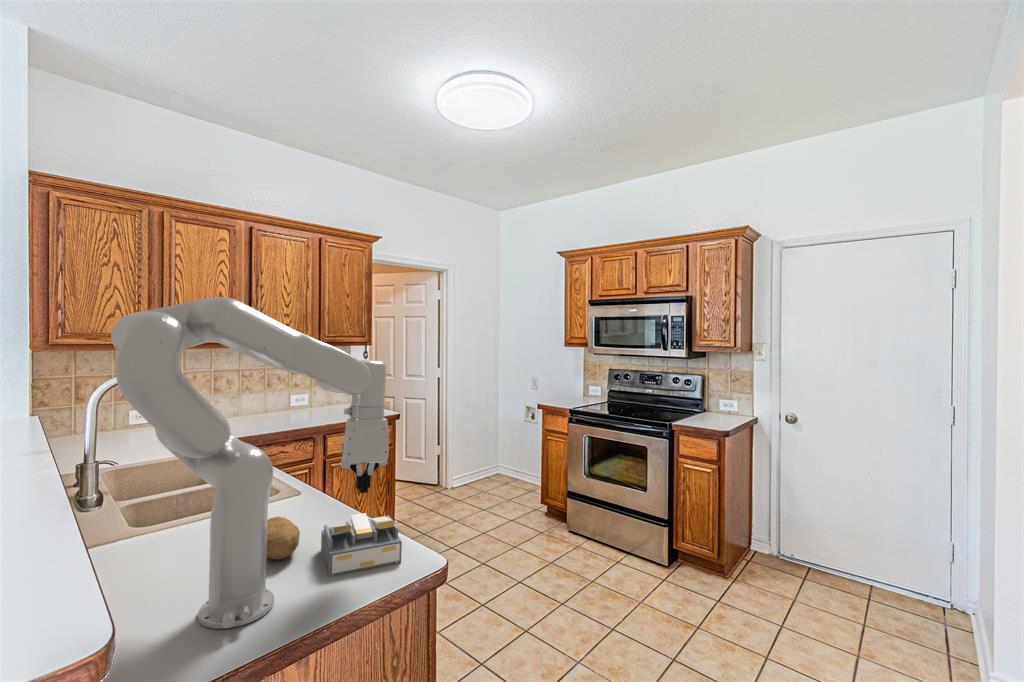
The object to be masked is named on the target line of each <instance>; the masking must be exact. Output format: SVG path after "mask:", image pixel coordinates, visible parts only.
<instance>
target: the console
mask: <svg viewBox="0 0 1024 682" xmlns="http://www.w3.org/2000/svg"><path fill="white" fill-rule="evenodd" d="M386 517H388V518H390V519H392V518H391V516H390V515H389V514H388V515H386ZM367 518H368V517H367ZM368 520H369V523H370V526H371V528H372V531H373V534H372V537H369V538H363V539H357V540H356V537H355V533H354V530H353V527H352V525H351V523H350V522H349V521H345V525H351V531H349V532H343V533H337V534H330V531H329V526H328V525H327V524H324V525H323V529H322V530H321V543H320V545H321V546H320V551H322V552H321V555H322V554H323V555H322V557H324V558H323V561H324V564H325V568H326V570H328V571H327V574H328V573H329V574H328V577H333V576H339V574H340V575H344V574H348V573H349V572H350V573H353V572H354V571H355V572H359V570H360V571H364V570H363V569H365V570H369V569H368V568H370V569H374V568H373V567H375V568H378V567H377V566H380V567H384V566H383V565H385V566H388V565H387V564H390V565H393V564H392V563H395V564H397V563H396V562H400V563H402V552H403V551H402V550H403V549H402V546H403V544H402V543H403V541H402V539H401V538H400V537H399V527H398V525H397V524H396V523H395V522H394V527H389V528H383V529H377V528H376V527H375V526H374V525H373V524H372V522H371V518H368ZM381 565H382V566H381ZM355 572H354V573H355Z"/></svg>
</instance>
